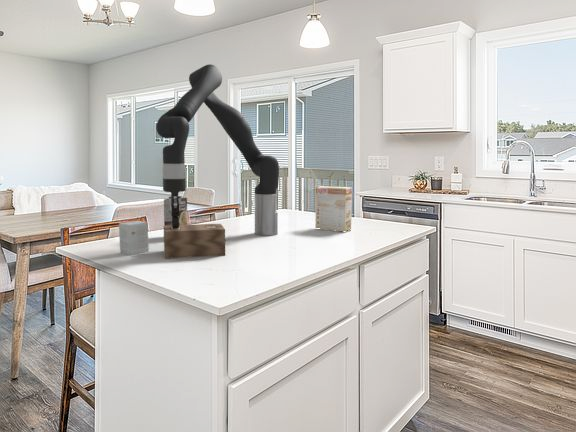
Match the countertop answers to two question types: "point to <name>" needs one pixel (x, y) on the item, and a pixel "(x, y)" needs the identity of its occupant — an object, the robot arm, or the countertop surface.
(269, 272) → the countertop surface
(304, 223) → the countertop surface
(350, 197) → the coffeecake box
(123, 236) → the small box
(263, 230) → the robot arm
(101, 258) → the countertop surface
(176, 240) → the walnut block
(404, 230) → the countertop surface
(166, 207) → the coffee box
